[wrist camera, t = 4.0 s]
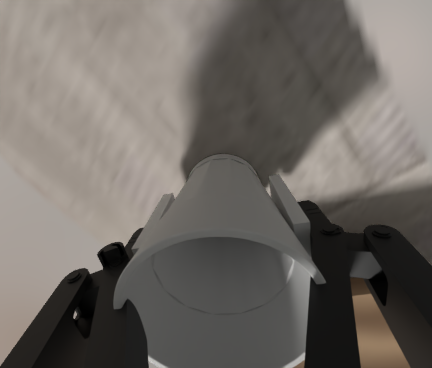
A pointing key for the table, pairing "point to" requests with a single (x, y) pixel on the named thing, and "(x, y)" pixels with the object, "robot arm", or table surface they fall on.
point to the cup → (221, 276)
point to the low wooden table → (372, 332)
